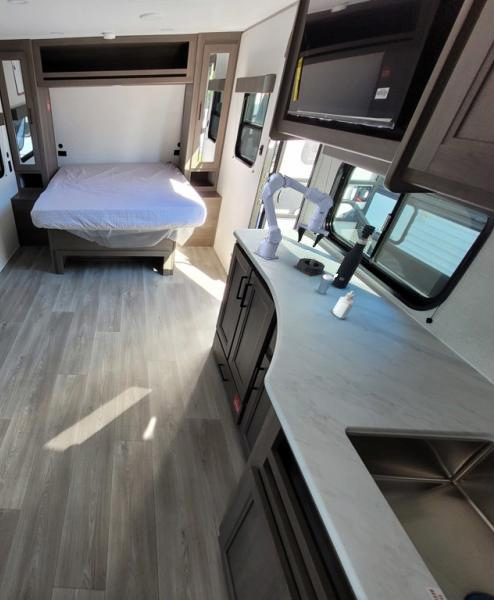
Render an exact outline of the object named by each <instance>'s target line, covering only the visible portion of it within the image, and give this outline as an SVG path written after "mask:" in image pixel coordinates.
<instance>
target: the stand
mask: <svg viewBox="0 0 494 600" xmlns="http://www.w3.org/2000/svg"><path fill="white" fill-rule="evenodd" d="M310 259H311V261H310V263H309V266H313V265H314V263H315V261H316V260H317V259H315V258H310ZM293 268H295V269H296V270H298V271H300V272H302V273H304V274H305V275H307V276H309V277H313V276H317V275H323V274H324V273H325V270H323V272H322V273H319V274H313V273H308V272H305V271H303V270H301V269H299V268H298V266H297V264H295V265H294V266H293Z"/></svg>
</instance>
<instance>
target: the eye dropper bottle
mask: <svg viewBox="0 0 494 600" xmlns="http://www.w3.org/2000/svg"><path fill="white" fill-rule="evenodd" d="M354 293H355V291H354V290H351V291H350V292H347V293H346V295H345V296H344V295H343V296H340V297H339V299H338V301H337V302H336V303H335V306H334V307H333V309H332V313H333V314H334V316H335V317H337V318H339V319H342V320H343V319H346V318H347V317H348V315H349V313H350V312H351V310H352V308H353V306H354V302H353V301H354V300H353V299H354V297H355V294H354Z"/></svg>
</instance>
